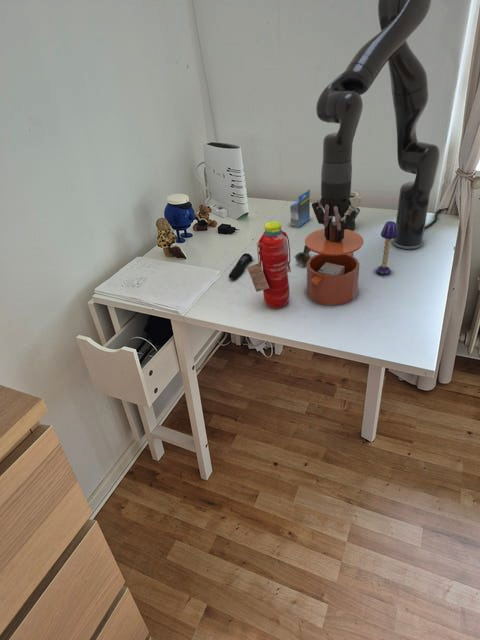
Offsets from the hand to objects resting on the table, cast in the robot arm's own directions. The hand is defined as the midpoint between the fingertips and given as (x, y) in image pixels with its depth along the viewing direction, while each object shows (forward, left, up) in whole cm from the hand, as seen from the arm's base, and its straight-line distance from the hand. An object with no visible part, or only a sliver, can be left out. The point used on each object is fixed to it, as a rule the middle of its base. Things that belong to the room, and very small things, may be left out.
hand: (333, 239), depth 121 cm
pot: (0, 0, -17) cm, 17 cm away
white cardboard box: (0, 0, -17) cm, 17 cm away
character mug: (-41, -18, -17) cm, 48 cm away
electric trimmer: (+4, -32, -17) cm, 37 cm away
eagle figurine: (-12, -17, -17) cm, 27 cm away
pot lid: (0, 0, -1) cm, 1 cm away
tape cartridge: (-37, -36, -17) cm, 54 cm away
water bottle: (+15, -11, -17) cm, 25 cm away
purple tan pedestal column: (-18, +8, -17) cm, 26 cm away
